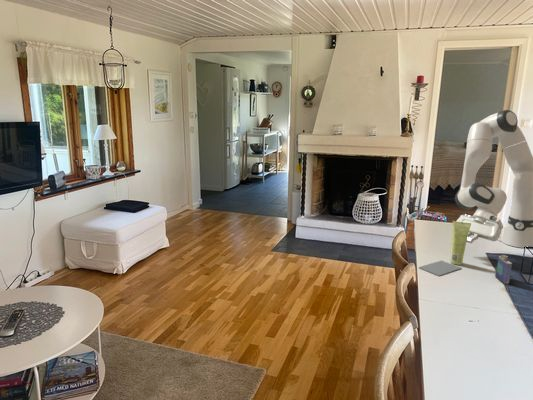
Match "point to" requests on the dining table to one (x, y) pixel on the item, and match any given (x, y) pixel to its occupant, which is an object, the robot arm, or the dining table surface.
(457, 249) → the tube
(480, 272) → the dining table surface
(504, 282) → the blue purple box
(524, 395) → the dining table surface
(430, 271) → the felt mat
